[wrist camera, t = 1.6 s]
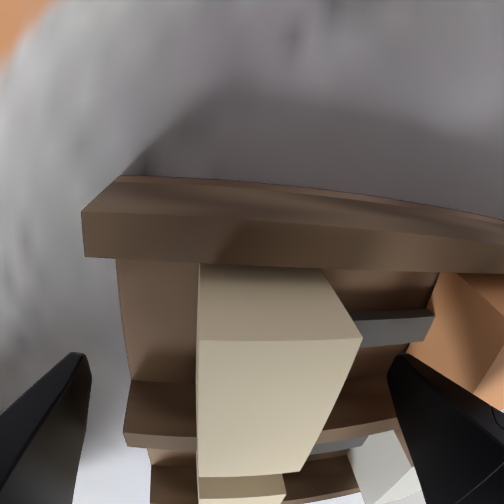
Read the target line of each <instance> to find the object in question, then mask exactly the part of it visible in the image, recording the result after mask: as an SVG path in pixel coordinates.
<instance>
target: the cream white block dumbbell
mask: <svg viewBox="0 0 504 504" xmlns="http://www.w3.org/2000/svg"><path fill="white" fill-rule="evenodd" d="M344 449H350V450H349V451H348V453H347V456H348V459H349V461H350V464H351V467H352V469H353V472H354V475H355V478H356V480H357V483H358V486H359V488H360V491H361V494H362V497H363V499H364V502H365V504H386V503H389V502H392V501H395V500H397V499H401V498H403V497H406V496H409V495H411V494H414V493H417V492H419V491H422V489H421V486H420V483H419V480H418V477H417V474H416V471H415V468H414V465H413V462H412V459H411V456H410V453H409V450H408V448H407V445H406V442H405V439H404V436H403V434H402V431H401V428H399V429H395V430H390V431H386V432H382V433H377V434H373V435H368V436H363V437H358V438H352V439H347V440H341V441H335V442H329V443H322V444H314V446H313V448H312V450H311V452H310V454H309V455H313V454H320V453H327V452H333V451H339V450H344ZM196 464H197V487H198V504H281V502H282V501H283V499H284V497H285V496H286V489H285V485H284V480H283V476H282V473H281V474H270V475H258V476H240V477H199V475H198V453H197V451H196Z"/></svg>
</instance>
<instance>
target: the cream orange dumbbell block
mask: <svg viewBox="0 0 504 504" xmlns="http://www.w3.org/2000/svg"><path fill="white" fill-rule="evenodd" d="M404 343H410V345H409V347H408V349H407V351H406V353H409V354H411V355H412V356H414V357H415V358H417V359H419V360H420V361H422V362H423V363H425V364H426V365H428V366H430V367H431V368H433V369H434V370H436V371H438V372H439V373H441V374H442V375H444V376H445V377H447V378H449V379H450V380H452V381H453V382H455V383H456V384H458V385H460V386H461V387H463V388H464V389H466V390H467V391H469V392H471V393H472V394H474V395H475V396H477V397H479V398H480V399H482V400H483V401H485V402H486V403H488V404H490V406H493V407H494V408H496V409H498V410H499V411H500V410H502V409H504V274H489V273H445V272H440V274H439V277H438V280H437V282H436V285H435V287H434V290H433V293H432V295H431V298H430V300H429V302H428V305H427V307H426V309H417V310H395V311H367V312H347V311H346V309H345V307H344V306H343V304H342V303H341V301H340V299H339V298H338V296H337V295H336V293H335V291H334V290H333V288H332V287H331V285H330V283H329V282H328V280H327V279H326V277H325V276H324V274H323V272H322V271H321V269H320V268H295V267H272V266H249V265H227V264H207V263H199V281H198V305H197V337H196V424H197V453H198V475H199V477H240V476H258V475H270V474H281V473H290V472H298V471H300V470H301V468H302V467H303V465H304V463H305V461H306V459H307V458H308V456H309V454H310V452H311V450H312V448H313V446H314V444H315V443H316V441H317V439H318V437H319V435H320V433H321V431H322V429H323V427H324V425H325V423H326V421H327V419H328V417H329V415H330V413H331V411H332V409H333V406H334V404H335V402H336V400H337V398H338V396H339V394H340V391H341V389H342V387H343V385H344V382H345V380H346V378H347V376H348V373H349V371H350V369H351V366H352V364H353V361H354V359H355V357H356V354H357V352H358V349H359V348H362V347H374V346H385V345H395V344H404Z"/></svg>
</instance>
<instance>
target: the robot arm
mask: <svg viewBox="0 0 504 504" xmlns="http://www.w3.org/2000/svg"><path fill="white" fill-rule="evenodd" d="M386 378H387V383H388V387H389V390H390V394H391V398H392V401H393V405H394V409H395V413H396V416H397V420H398V423H399V425H400V428H401V431H402V434H403V436H404V439H405V442H406V445H407V448H408V450H409V453H410V456H411V459H412V462H413V465H414V468H415V471H416V474H417V477H418V480H419V483H420V486H421V489H422V492H423V495H424V498H425V502H426V504H504V413H502V412H501V411H499V410H498V409H496V408H494V407H493V406H490V404H488V403H486V402H485V401H483V400H482V399H480V398H479V397H477V396H475V395H474V394H472V393H471V392H469V391H467V390H466V389H464V388H463V387H461V386H460V385H458V384H456V383H455V382H453V381H452V380H450V379H449V378H447V377H445V376H444V375H442V374H441V373H439V372H438V371H436V370H434V369H433V368H431V367H430V366H428V365H426V364H425V363H423V362H422V361H420V360H419V359H417V358H415V357H414V356H412V355H411V354H409V353H403V354H397V355H396V356H395V358H394V359H393V361H392V364H391V366H390V368H389V369H388V372H387V375H386ZM91 384H92V375H91V371H90V368H89V364H88V360H87V357H86V355H85V354H83V353H76V352H71V353H69V354H68V355H67V356H66V357H65V358H64V359H62V360H61V361H60V362H59V363H58V364H57V365H55V366H54V367H53V368H52V369H51V370H50V371H49V372H47V373H46V374H45V375H44V376H43V377H42V378H41V379H40V380H38V381H37V382H36V383H35V384H34V385H33V386H32V387H30V388H29V389H28V390H27V391H26V392H25V393H24V394H23V395H22V396H20V397H19V398H18V399H17V400H16V401H15V402H14V403H13V404H12V405H11V406H9V407H8V408H7V409H6V410H5V411H4V412H3V413H2V414H1V415H0V504H72V501H73V494H74V488H75V482H76V476H77V471H78V465H79V460H80V455H81V450H82V445H83V441H84V436H85V431H86V424H87V415H88V407H89V399H90V391H91Z"/></svg>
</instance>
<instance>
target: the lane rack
mask: <svg viewBox="0 0 504 504" xmlns="http://www.w3.org/2000/svg"><path fill="white" fill-rule="evenodd" d="M81 219H82V232H83V243H84V253H85V257H97V258H114V259H116V269H117V280H118V291H119V300H120V309H121V317H122V325H123V332H124V339H125V346H126V352H127V358H128V364H129V370H130V375H131V385H130V390H129V396H128V402H127V408H126V414H125V420H124V427H123V435H124V438H125V441H126V443H127V446H129V447H138V448H147V451H148V455H149V458H150V462H151V485H150V504H198V487H197V464H196V451H197V424H196V337H197V305H198V281H199V263H207V264H227V265H249V266H272V267H295V268H320V269H321V271H322V272H323V274H324V276H325V277H326V279H327V280H328V282H329V283H330V285H331V287H332V288H333V290H334V291H335V293H336V295H337V296H338V298H339V299H340V301H341V303H342V304H343V306H344V307H345V309H346V311H347V312H367V311H395V310H417V309H426V307H427V305H428V302H429V300H430V298H431V295H432V293H433V290H434V287H435V285H436V282H437V280H438V277H439V274H440V272H445V273H489V274H504V220H499V219H495V218H490V217H486V216H481V215H476V214H471V213H466V212H461V211H456V210H451V209H446V208H441V207H435V206H429V205H424V204H418V203H412V202H406V201H400V200H394V199H387V198H381V197H374V196H367V195H360V194H353V193H345V192H338V191H330V190H322V189H313V188H304V187H295V186H286V185H275V184H265V183H254V182H242V181H229V180H215V179H200V178H182V177H160V176H131V175H120V176H119V177H118V178H117V179H115V180H114V181H113V182H112V183H111V184H110V185H109V186H108V187H107V188H105V189H104V190H103V191H102V192H101V193H100V194H99V195H98V196H97V197H96V198H95V199H94V200H92V201H91V202H90V203H89V204H88V205H87V206H86V207H85V208H84V209H83V210H82V211H81ZM409 345H410V343H404V344H395V345H385V346H374V347H362V348H359V349H358V352H357V354H356V357H355V359H354V361H353V364H352V366H351V369H350V371H349V373H348V376H347V378H346V380H345V382H344V385H343V387H342V389H341V391H340V394H339V396H338V398H337V400H336V402H335V404H334V406H333V409H332V411H331V413H330V415H329V417H328V419H327V421H326V423H325V425H324V427H323V429H322V431H321V433H320V435H319V437H318V439H317V441H316V443H315V444H322V443H329V442H335V441H341V440H347V439H352V438H358V437H363V436H368V435H373V434H377V433H382V432H386V431H390V430H395V429H399V428H400V425H399V423H398V420H397V416H396V413H395V409H394V405H393V401H392V398H391V394H390V390H389V387H388V383H387V378H386V375H387V372H388V369H389V368H390V366H391V364H392V361H393V359H394V358H395V356H396V355H397V354H403V353H406V351H407V349H408V347H409ZM349 450H350V449H344V450H339V451H333V452H327V453H320V454H313V455H309V456H308V458H307V459H306V461H305V463H304V465H303V467H302V468H301V470H300V471H298V472H290V473H282V476H283V480H284V485H285V489H286V496H285V497H284V499H283V501H282V502H281V504H304V503H310V502H316V501H321V500H326V499H331V498H336V497H341V496H345V495H349V494H354V493H358V492H361V491H360V488H359V486H358V483H357V480H356V478H355V475H354V472H353V469H352V467H351V464H350V461H349V459H348V456H347V453H348V451H349Z"/></svg>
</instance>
